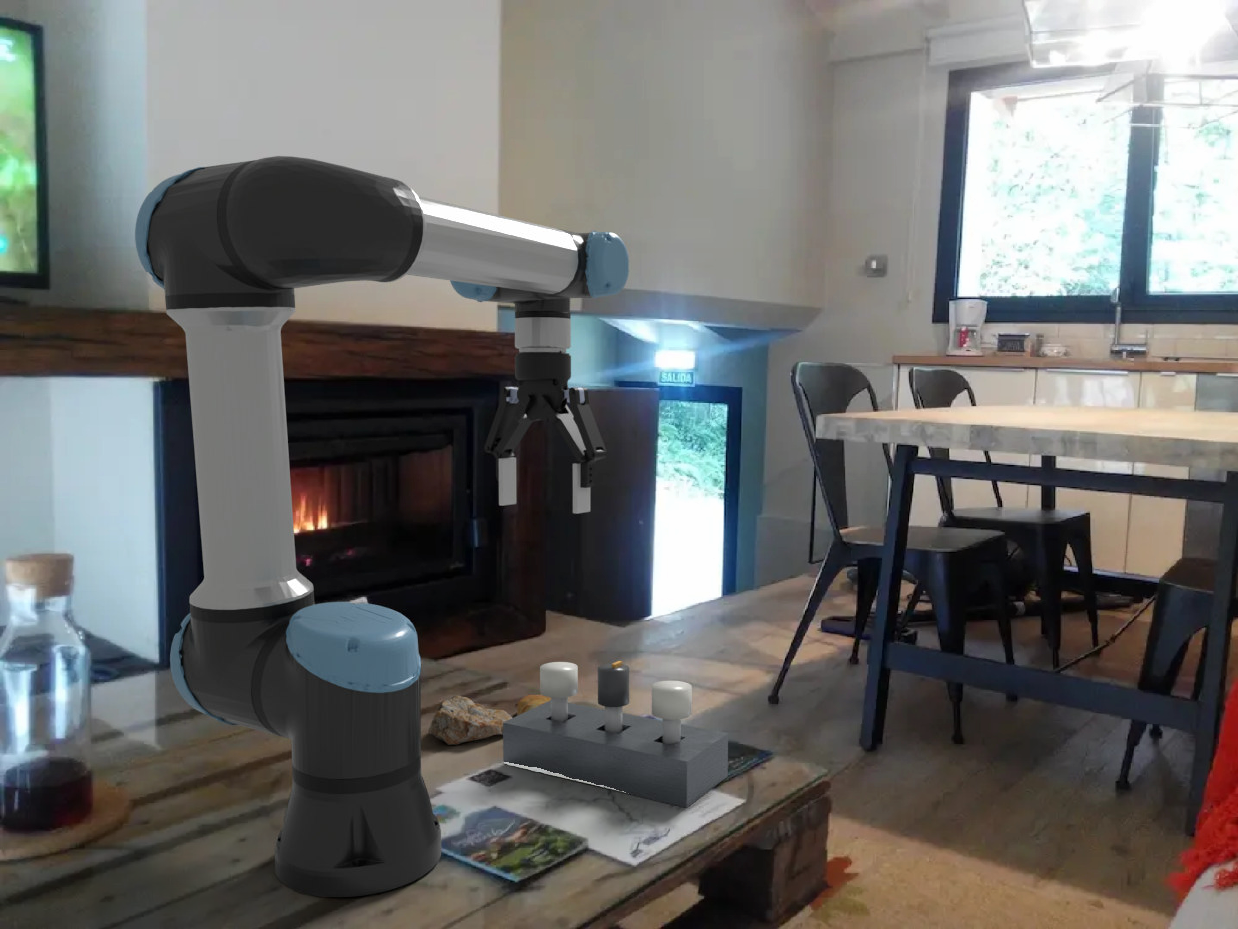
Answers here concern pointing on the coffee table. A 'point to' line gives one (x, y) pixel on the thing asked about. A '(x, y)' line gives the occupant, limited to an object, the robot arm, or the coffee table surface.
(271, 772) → the coffee table surface
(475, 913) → the coffee table surface
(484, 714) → the rock
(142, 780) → the coffee table surface
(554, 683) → the plunger far
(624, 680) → the pot knob
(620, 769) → the panel
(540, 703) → the pastry
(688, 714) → the plunger near
